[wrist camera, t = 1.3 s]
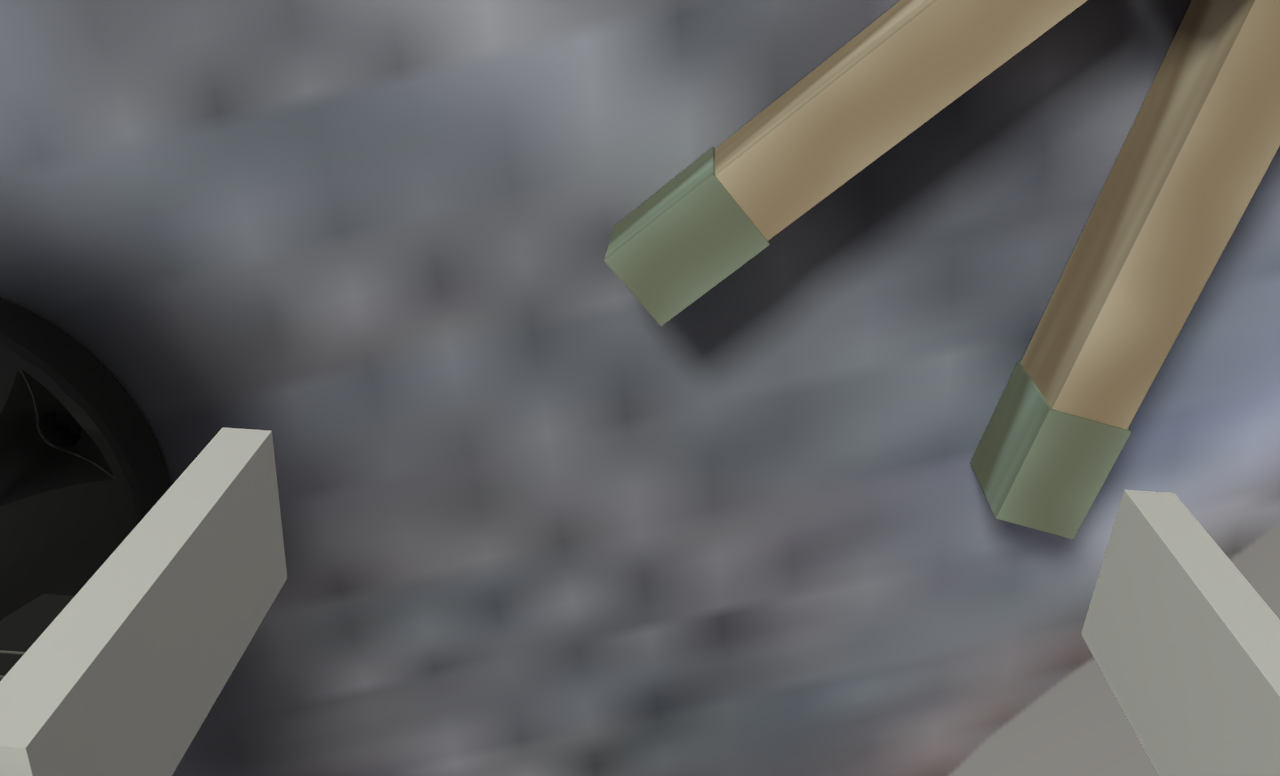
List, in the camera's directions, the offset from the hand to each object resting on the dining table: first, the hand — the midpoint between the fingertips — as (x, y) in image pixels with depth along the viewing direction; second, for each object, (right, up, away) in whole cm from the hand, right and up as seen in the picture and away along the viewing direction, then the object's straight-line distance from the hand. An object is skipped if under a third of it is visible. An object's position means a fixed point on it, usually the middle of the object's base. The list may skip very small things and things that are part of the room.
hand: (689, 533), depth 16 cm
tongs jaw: (+7, +11, +15) cm, 20 cm away
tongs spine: (+14, +10, +15) cm, 23 cm away
